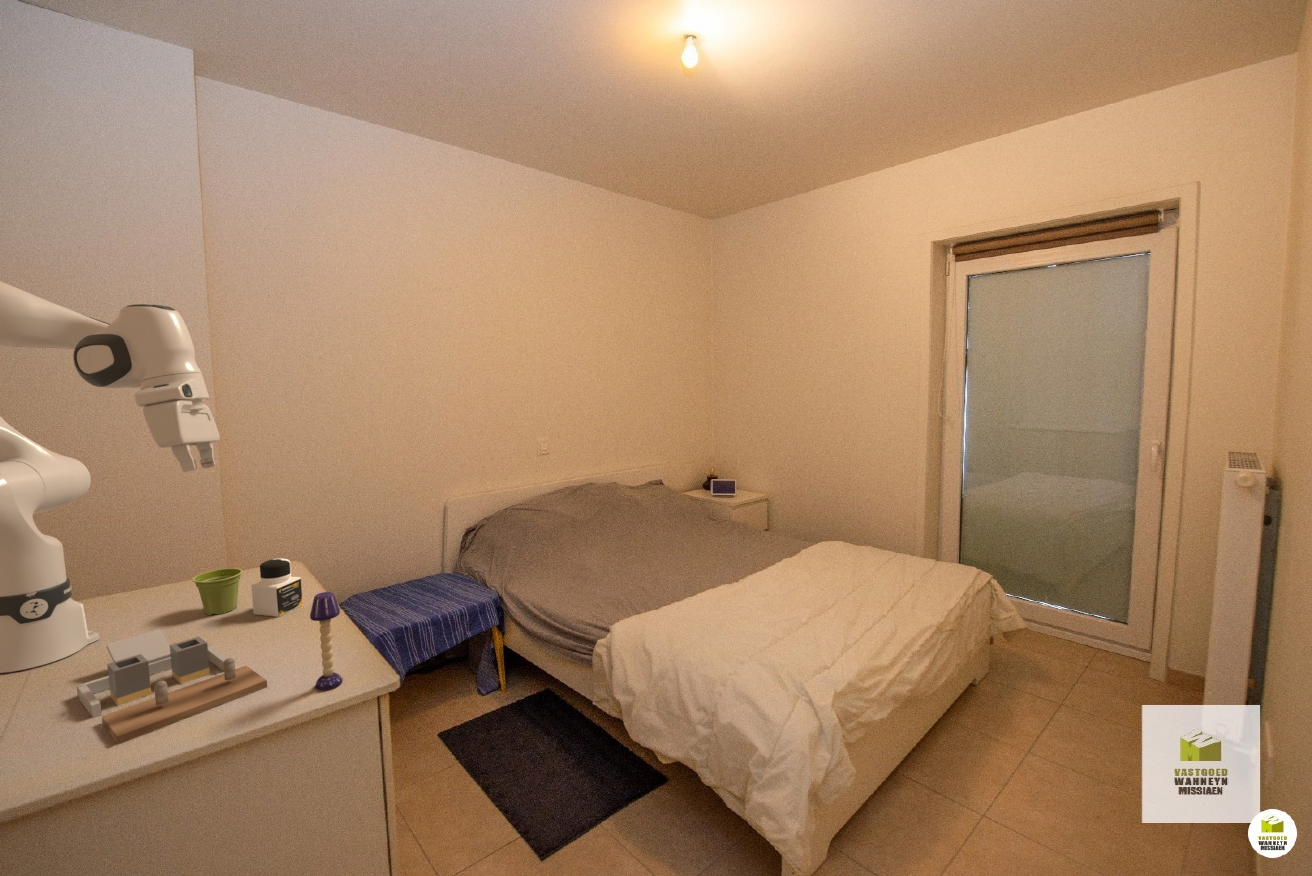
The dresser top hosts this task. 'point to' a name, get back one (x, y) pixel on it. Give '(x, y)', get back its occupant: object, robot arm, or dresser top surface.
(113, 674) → the sleeve
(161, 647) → the tray
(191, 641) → the sleeve
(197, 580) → the plant pot
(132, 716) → the pin board
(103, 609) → the dresser top surface
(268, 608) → the medicine bottle
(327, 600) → the toy lamp
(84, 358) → the robot arm
